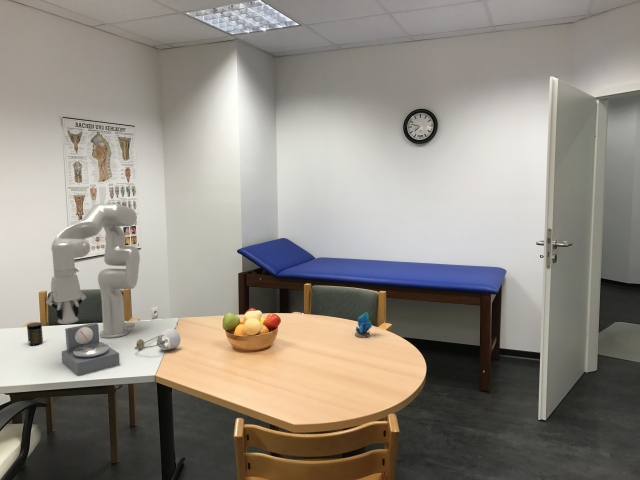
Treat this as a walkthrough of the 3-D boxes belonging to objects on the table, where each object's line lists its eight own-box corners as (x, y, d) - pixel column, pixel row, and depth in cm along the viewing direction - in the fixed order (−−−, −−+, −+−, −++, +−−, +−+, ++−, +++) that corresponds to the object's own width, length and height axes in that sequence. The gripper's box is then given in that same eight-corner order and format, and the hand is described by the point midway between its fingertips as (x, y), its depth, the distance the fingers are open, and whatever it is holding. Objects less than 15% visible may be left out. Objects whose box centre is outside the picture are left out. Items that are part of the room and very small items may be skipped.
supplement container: (45, 343, 230) (44, 323, 228) (32, 346, 225) (31, 327, 224) (38, 340, 233) (37, 321, 232) (25, 344, 228) (24, 324, 227)
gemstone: (374, 334, 242) (374, 310, 240) (363, 339, 235) (363, 314, 234) (361, 331, 247) (362, 307, 245) (350, 336, 240) (350, 311, 239)
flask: (82, 320, 206) (80, 296, 205) (67, 325, 199) (65, 300, 198) (68, 318, 209) (66, 294, 207) (53, 323, 202) (51, 299, 200)
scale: (102, 353, 217) (100, 321, 215) (119, 364, 205) (117, 331, 203) (62, 363, 206) (59, 329, 204) (78, 376, 194) (75, 340, 192)
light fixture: (211, 332, 249) (167, 355, 211) (179, 336, 254) (130, 360, 215) (207, 313, 249) (163, 333, 210) (175, 318, 254) (126, 339, 215)
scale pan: (101, 343, 213) (101, 341, 213) (114, 351, 203) (114, 348, 203) (68, 351, 204) (68, 348, 204) (80, 359, 195) (80, 357, 194)
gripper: (84, 268, 209) (87, 311, 212) (38, 274, 198) (41, 319, 201) (90, 271, 204) (93, 315, 207) (43, 277, 193) (47, 324, 195)
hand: (67, 317), depth 204 cm, fingers closed on flask, 5 cm apart
